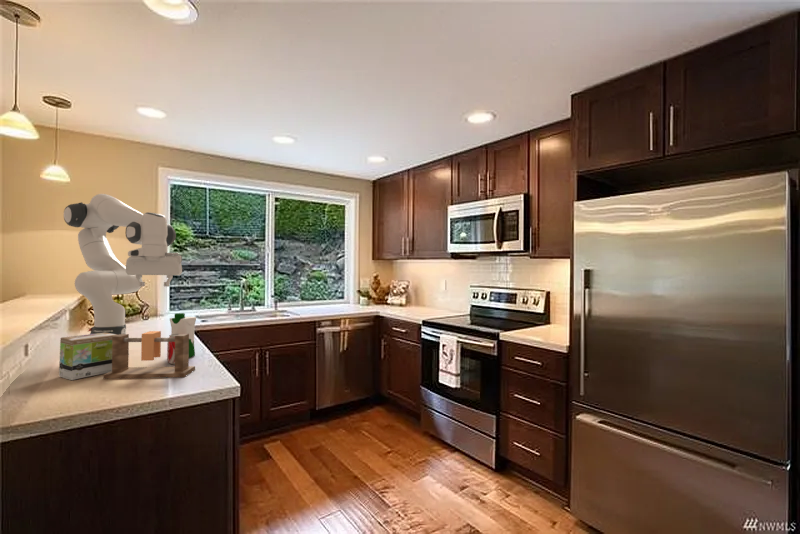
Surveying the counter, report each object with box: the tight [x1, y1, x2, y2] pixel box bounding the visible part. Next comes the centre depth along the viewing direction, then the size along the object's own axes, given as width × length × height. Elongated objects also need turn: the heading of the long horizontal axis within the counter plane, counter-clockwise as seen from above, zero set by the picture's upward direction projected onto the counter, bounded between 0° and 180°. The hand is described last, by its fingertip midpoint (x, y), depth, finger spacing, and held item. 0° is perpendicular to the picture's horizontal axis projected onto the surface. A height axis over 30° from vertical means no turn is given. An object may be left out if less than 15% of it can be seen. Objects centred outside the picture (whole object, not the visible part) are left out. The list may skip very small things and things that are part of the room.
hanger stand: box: [102, 333, 196, 380], centre depth 148 cm, size 28×10×15 cm, turn 97°
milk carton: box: [169, 312, 197, 358], centre depth 176 cm, size 9×9×20 cm
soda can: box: [166, 334, 179, 365], centre depth 166 cm, size 7×7×12 cm
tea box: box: [58, 333, 116, 381], centre depth 148 cm, size 15×10×15 cm, turn 153°
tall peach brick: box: [140, 330, 162, 362], centre depth 148 cm, size 4×6×10 cm, turn 7°
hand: (154, 286), depth 158 cm, fingers open, 8 cm apart
